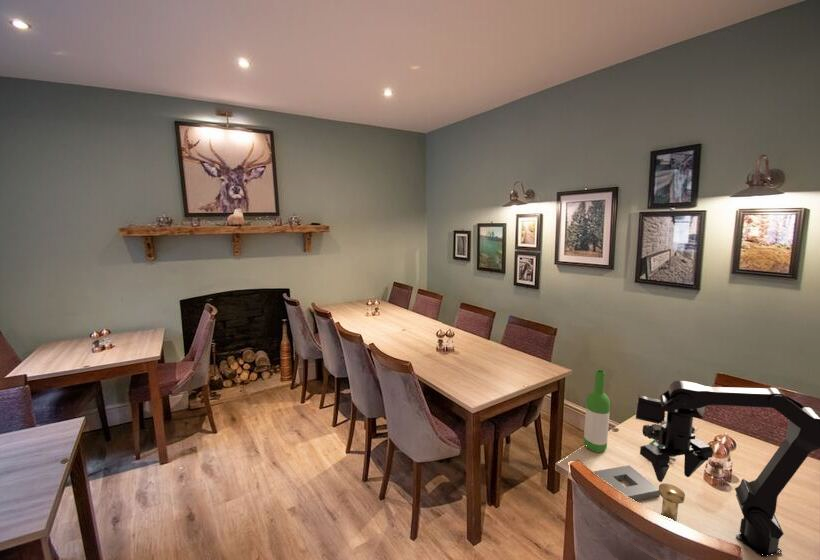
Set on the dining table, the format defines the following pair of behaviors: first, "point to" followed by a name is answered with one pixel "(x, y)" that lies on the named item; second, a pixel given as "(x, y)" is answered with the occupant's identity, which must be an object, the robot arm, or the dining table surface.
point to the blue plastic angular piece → (657, 443)
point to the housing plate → (639, 484)
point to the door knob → (671, 499)
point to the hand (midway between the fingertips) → (673, 478)
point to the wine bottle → (597, 416)
